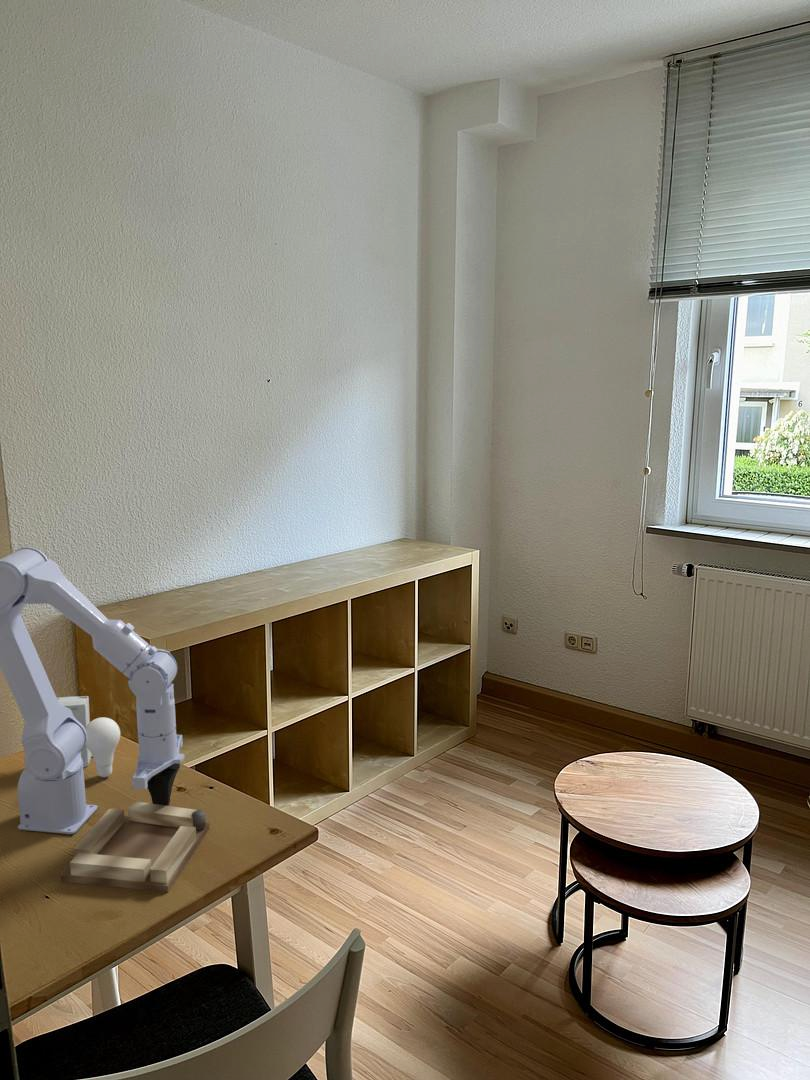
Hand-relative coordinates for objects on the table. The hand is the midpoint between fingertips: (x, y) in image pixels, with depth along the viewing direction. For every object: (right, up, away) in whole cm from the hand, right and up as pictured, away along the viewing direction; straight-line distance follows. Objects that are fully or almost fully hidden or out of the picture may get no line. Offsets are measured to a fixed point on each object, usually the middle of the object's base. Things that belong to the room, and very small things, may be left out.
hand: (161, 807), depth 135 cm
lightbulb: (-14, +1, +14) cm, 20 cm away
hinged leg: (+2, -2, -2) cm, 3 cm away
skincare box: (-21, +2, +19) cm, 29 cm away
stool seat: (-1, -4, -8) cm, 9 cm away
